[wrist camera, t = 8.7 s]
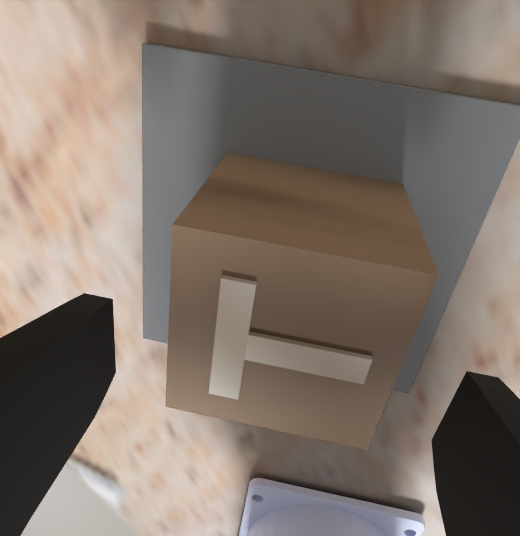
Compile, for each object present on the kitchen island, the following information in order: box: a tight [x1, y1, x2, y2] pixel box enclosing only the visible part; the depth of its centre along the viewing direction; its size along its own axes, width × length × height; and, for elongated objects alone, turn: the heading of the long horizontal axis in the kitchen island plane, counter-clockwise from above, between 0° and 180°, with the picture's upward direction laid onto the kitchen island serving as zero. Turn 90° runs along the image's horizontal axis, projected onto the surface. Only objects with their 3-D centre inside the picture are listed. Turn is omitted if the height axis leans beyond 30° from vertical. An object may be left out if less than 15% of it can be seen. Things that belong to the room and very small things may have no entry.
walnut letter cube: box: [166, 152, 439, 450], centre depth 12 cm, size 5×5×5 cm
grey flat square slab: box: [142, 43, 520, 393], centre depth 14 cm, size 10×10×1 cm
